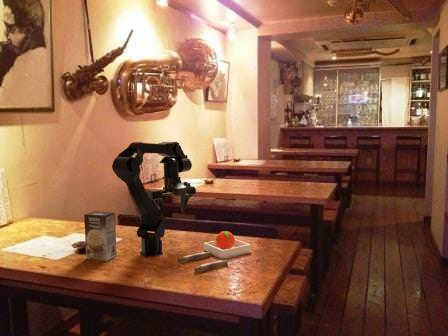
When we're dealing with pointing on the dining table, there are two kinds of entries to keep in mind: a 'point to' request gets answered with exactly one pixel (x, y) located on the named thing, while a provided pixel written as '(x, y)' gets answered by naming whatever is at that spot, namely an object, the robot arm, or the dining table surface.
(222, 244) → the clementine
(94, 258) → the coffee box
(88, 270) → the dining table surface
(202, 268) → the cradle
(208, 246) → the bin
